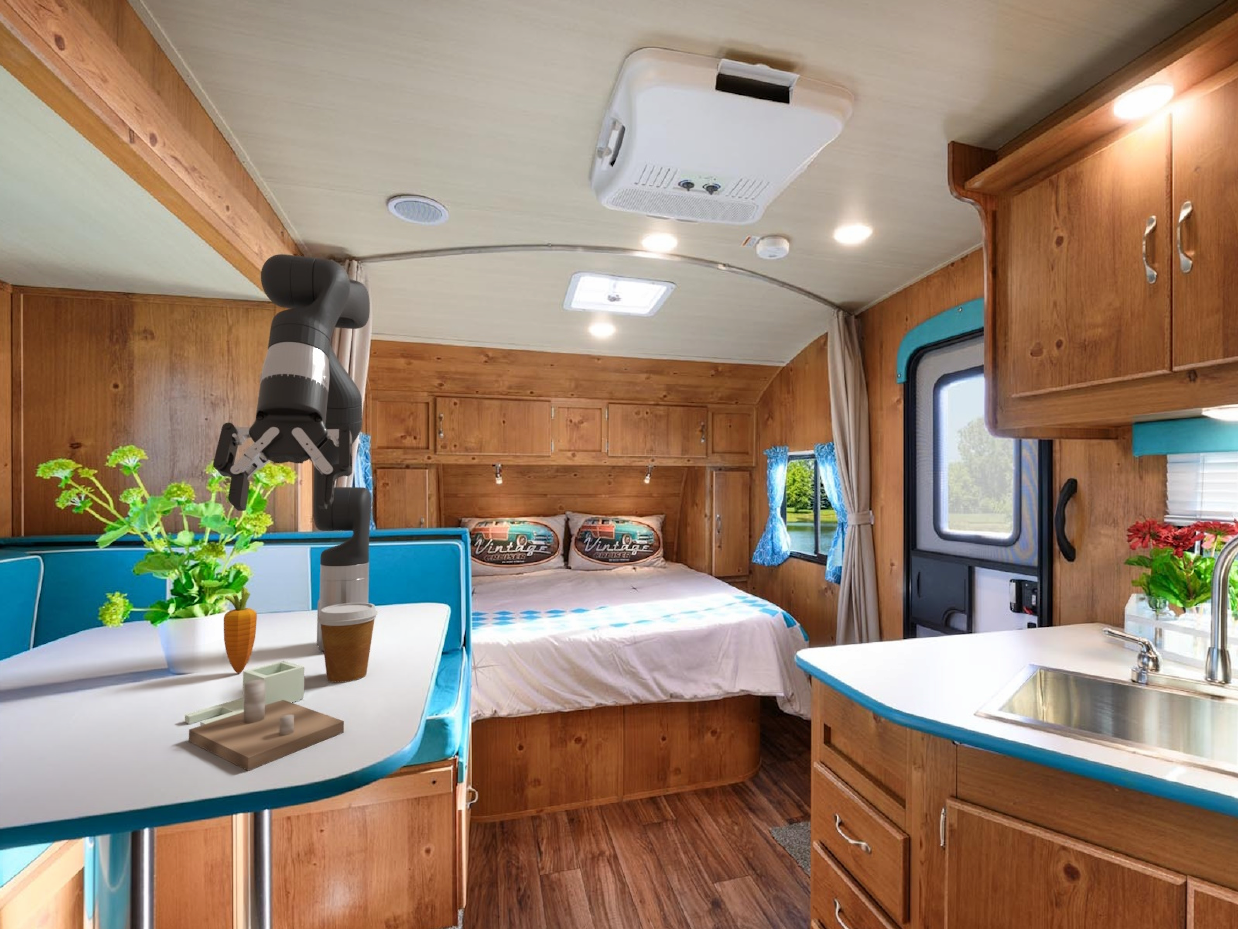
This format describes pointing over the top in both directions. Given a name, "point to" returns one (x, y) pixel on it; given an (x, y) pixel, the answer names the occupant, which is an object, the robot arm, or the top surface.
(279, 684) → the hollow square block
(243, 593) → the carrot
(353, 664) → the disposable coffee cup
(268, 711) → the post base
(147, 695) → the top surface
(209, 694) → the top surface
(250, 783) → the top surface
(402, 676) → the top surface
